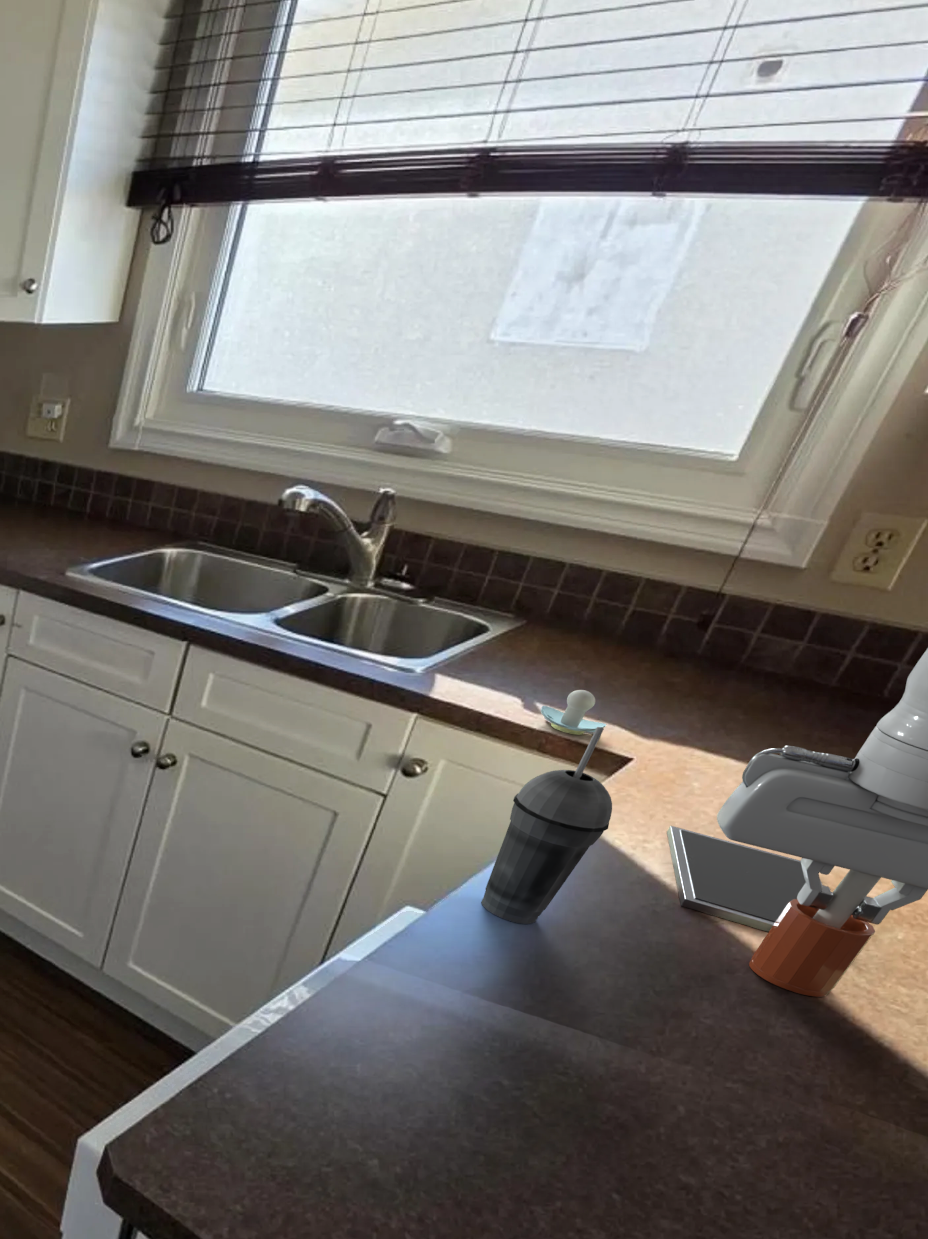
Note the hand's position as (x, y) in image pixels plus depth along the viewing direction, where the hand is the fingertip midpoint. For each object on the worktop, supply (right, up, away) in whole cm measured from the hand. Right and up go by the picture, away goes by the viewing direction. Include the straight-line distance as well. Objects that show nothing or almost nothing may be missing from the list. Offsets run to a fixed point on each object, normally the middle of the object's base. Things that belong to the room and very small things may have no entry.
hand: (835, 911), depth 91 cm
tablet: (+11, 0, +17) cm, 20 cm away
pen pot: (0, -7, +3) cm, 8 cm away
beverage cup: (-20, -2, +11) cm, 23 cm away
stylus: (0, -5, +3) cm, 6 cm away
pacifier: (+24, +18, +54) cm, 62 cm away
